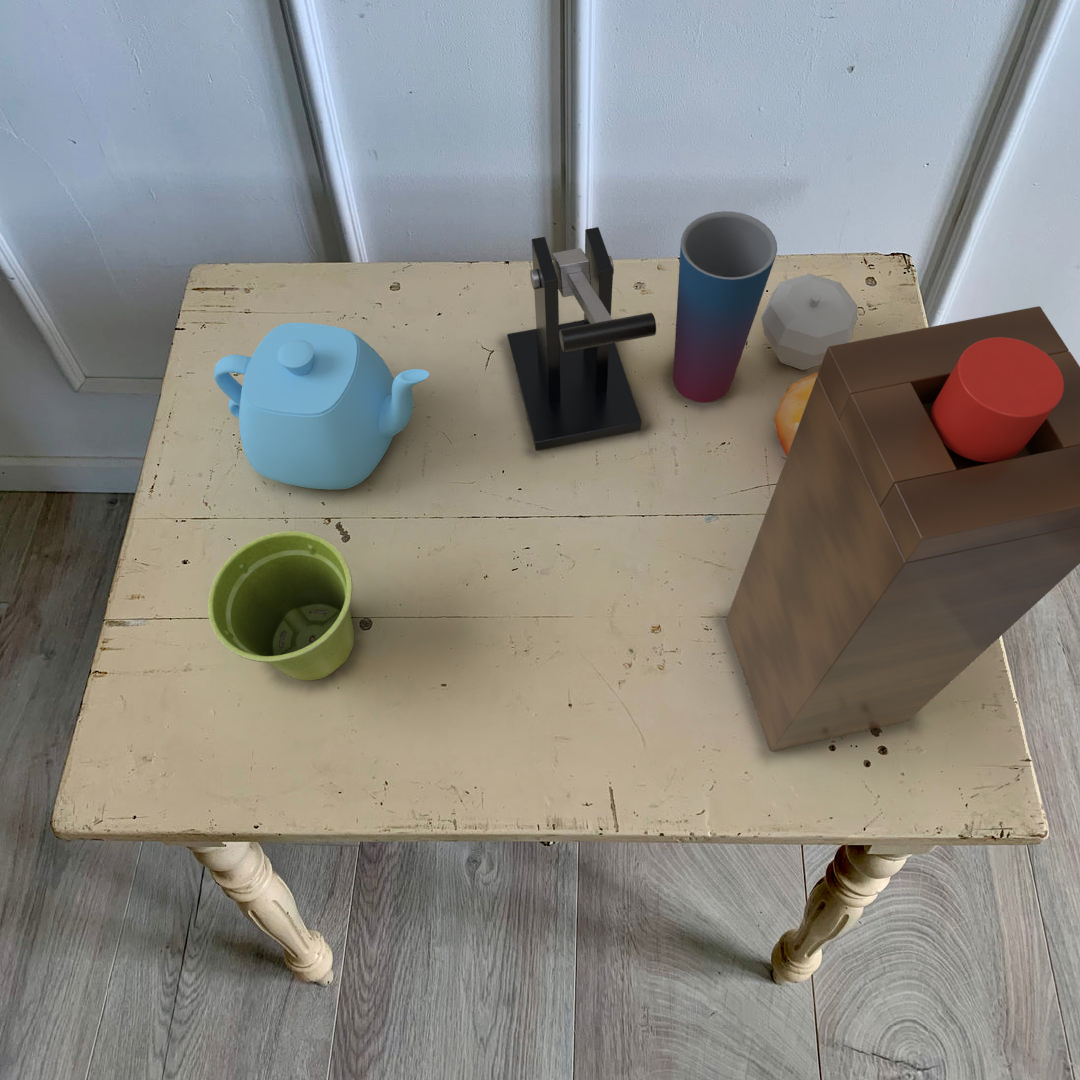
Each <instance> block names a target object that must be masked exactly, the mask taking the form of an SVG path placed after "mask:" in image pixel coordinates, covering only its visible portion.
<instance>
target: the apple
mask: <svg viewBox="0 0 1080 1080" xmlns="http://www.w3.org/2000/svg"><path fill="white" fill-rule="evenodd" d="M760 320H761V325H762V329H763V335H764V337H765V339H766V340H767V342H768V344H769V346H770V347H771V349H772V350H773V352H774V353H775V355H776V358H778V360H779V362H780V363H781V364H784V365H786V366H790V367H792V368H796V369H799V370H801V371H805V370H809V369H811V368H814V367H817V366H821V364H822V362H823V359H824V356H825V354H826V351H827V348H828V347H829V346H833V345H839V344H844V343H849V342H850V339H851V337H852V335H853V332H854V329H855V326H856V323H857V320H858V304H857V303H856V301H855V300H854V298H853V297H852V296H851V295H850V293H849V292H848V290H847V289H846V287H844V285H843V284H842V283H841V282H840V281H836V280H832V279H829V278H826V277H823V276H819V275H815V274H812V273H806V274H803V275H800V276H797V277H793V278H790V279H787V280H784V281H781V282H779V283H778V285H777V286H776V288H775V289H774V290H773V292H772V293H771V295H770V297H769V300H768V302H767V303H766V306H765V308H764V311H763V313H762V316H761V319H760Z"/></svg>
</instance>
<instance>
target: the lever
mask: <svg viewBox="0 0 1080 1080" xmlns="http://www.w3.org/2000/svg"><path fill="white" fill-rule="evenodd" d="M551 257H552V261H553V265H554V268H555V271H556V275H557V278H558V292H559V293H560V295H561V297H562V298H567V297H568V298H569V297H573V296H574V297H575V300H576V301H577V303H578V305H579V307H580V308H581V311H582V312H583V314H584V313H585V315H586V317H587V319H588V321H589V322H590V324H587V325H581V326H576V327H571V328H565V329H560V331H559V336H560V343H561V347H562V350H563V352H569V351H574V350H579V349H585V348H590V347H595V346H601V345H606V344H611V343H615V344H617V343H622V342H626V341H633V340H637V339H642V338H649V337H654V336H656V333H657V322H656V321H657V320H656V318H655V314H654V313H653V312H646V313H641V314H636V315H630V316H625V317H620V318H619V317H618V318H615V319H614V318H612V315H611V316H610V315H609V313H608V311H607V310H606V308H605V307H604V305H603V303H602V302H601V300H600V299H599V297H598V295H597V294H596V292H595V291H594V289H593V287H592V286H591V275H590V263H589V260H588V258H587V257H586V255H585V251H583V249H582V248H581V247H579V248H574V249H568V250H563V251H557V252H552V254H551Z"/></svg>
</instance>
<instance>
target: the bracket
mask: <svg viewBox="0 0 1080 1080" xmlns="http://www.w3.org/2000/svg"><path fill="white" fill-rule="evenodd" d="M584 232H585V233H584V237H585V238H584V254H585V255H586V257H587V258H588V260H589V263H590V275H591V286H592V287H593V289H594V291H595V292H596V294H597V295H598V297H599V299H600V300H601V302H602V303H603V305H604V307H605V308H606V310H607V311H608V313H609V315H610V316H611V317H612V304H613V303H612V302H613V281H614V274H615V267H614V266H615V265H614V260H613V258H612V255H609V253H608V251H607V248H606V245H605V242H604V238H603V236H602V233H601V230H600V228H599V226H596V227H591V228H586V229H584ZM531 253H532V269H530V271H529V277H530V283H531V287H532V289H533V291H534V310H535V328H533V329H526V330H521V331H517V332H511V333H507V334H506V338H507V339H506V340H507V345H508V349H509V353H510V357H511V361H512V365H513V369H514V372H515V373H514V374H515V377H516V380H517V384H518V389H519V392H520V396H521V401H522V404H523V408H524V412H525V416H526V419H527V423H528V424H527V425H528V427H529V431H530V436H531V438H532V443H533V446H534V450H535V451H543V450H547V449H552V448H557V447H563V446H568V445H572V444H573V445H574V444H577V443H583V442H589V441H595V440H598V439H603V438H609V437H613V436H618V435H625V434H629V433H634V432H639V431H642V425H643V424H642V423H643V422H642V418H641V416H640V412H639V410H638V407H637V404H636V400H635V398H634V395H633V392H632V388H631V386H630V383H629V382H630V381H629V379H628V377H627V373H626V371H625V367H624V364H623V361H622V359H621V355H620V352H619V350H618V347H617V343H611V344H606V345H601V346H595V347H590V348H585V349H579V350H574V351H569V352H563V350H562V347H561V343H560V336H559V331H560V329H565V328H571V327H576V326H581V325H587V324H590V322H589V321H588V319H587V317H586V315H585V313H584V312H583V319H581V320H576V321H571V322H565V323H560V313H559V308H560V306H559V289H558V278H557V275H556V271H555V268H554V265H553V257H552V254H551V252H550V248H549V246H548V242H547V239H546V236H541V237H535V238H531Z"/></svg>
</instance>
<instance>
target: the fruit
mask: <svg viewBox="0 0 1080 1080" xmlns="http://www.w3.org/2000/svg"><path fill="white" fill-rule="evenodd" d="M817 376H818V372H815V373H812V374H810V375H807V376H804V377H802V378H801V379H798V380H797V381H795V382H792V383H791V384H790V385H789V386H788V388H787V389H786V391H785V393H784V395H783V396H782V397H781V399H780V401H779V404H778V407H777V409H776V412H775V415H774V418H773V422H774V425H775V431H776V435H777V438H778V441H779V444H780V446H781V448H782V450H783V452H784V454H785V456H786V457H787V455H788V453H789V450H790V447H791V445H792V442H793V439H794V437H795V434H796V431H797V429H798V426H799V423H800V421H801V418H802V415H803V413H804V410H805V407H806V404H807V402H808V399H809V396H810V394H811V391H812V388H813V386H814V383H815V380H816V378H817Z"/></svg>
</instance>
